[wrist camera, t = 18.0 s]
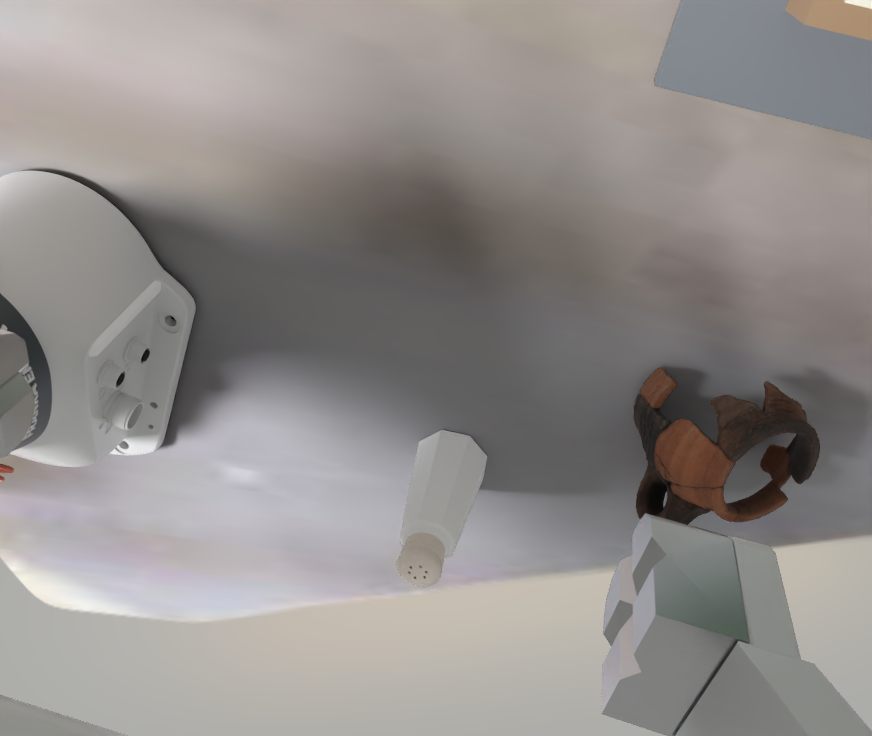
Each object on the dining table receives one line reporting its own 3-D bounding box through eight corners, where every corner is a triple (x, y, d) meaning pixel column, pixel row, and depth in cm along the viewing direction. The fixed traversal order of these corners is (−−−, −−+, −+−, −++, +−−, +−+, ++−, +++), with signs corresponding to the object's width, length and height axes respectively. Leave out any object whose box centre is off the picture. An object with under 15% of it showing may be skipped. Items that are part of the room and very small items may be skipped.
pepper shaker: (426, 490, 57) (389, 605, 48) (406, 432, 55) (362, 541, 45) (496, 484, 55) (472, 602, 46) (478, 424, 53) (448, 536, 44)
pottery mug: (671, 320, 46) (760, 395, 39) (771, 357, 50) (866, 430, 44) (573, 475, 50) (638, 564, 44) (673, 496, 55) (745, 580, 48)
